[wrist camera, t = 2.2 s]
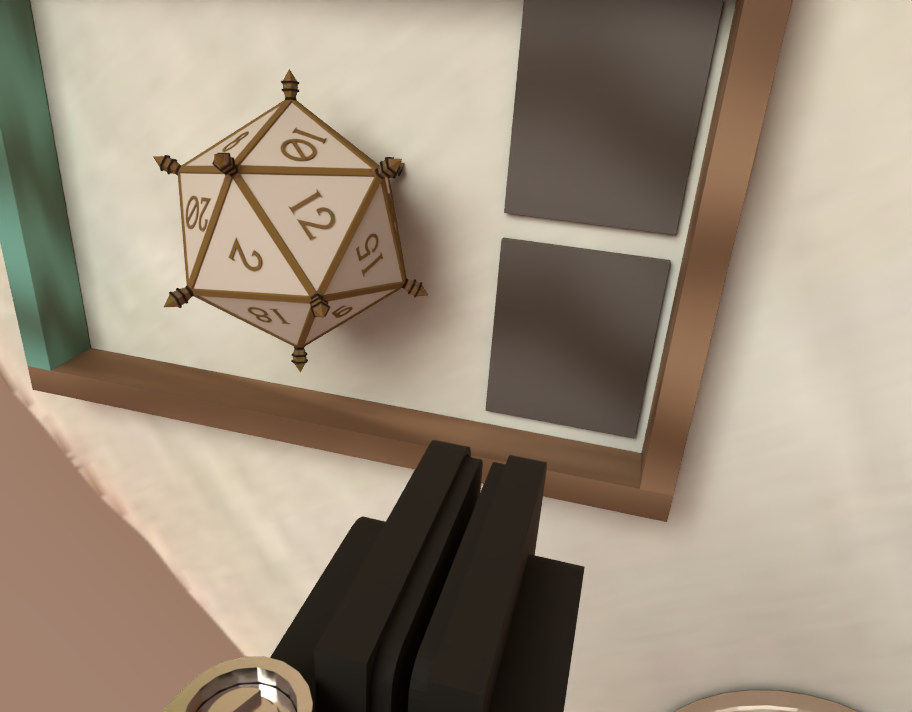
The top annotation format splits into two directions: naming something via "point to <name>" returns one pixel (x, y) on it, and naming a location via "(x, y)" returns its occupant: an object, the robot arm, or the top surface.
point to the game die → (289, 226)
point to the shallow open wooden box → (521, 262)
